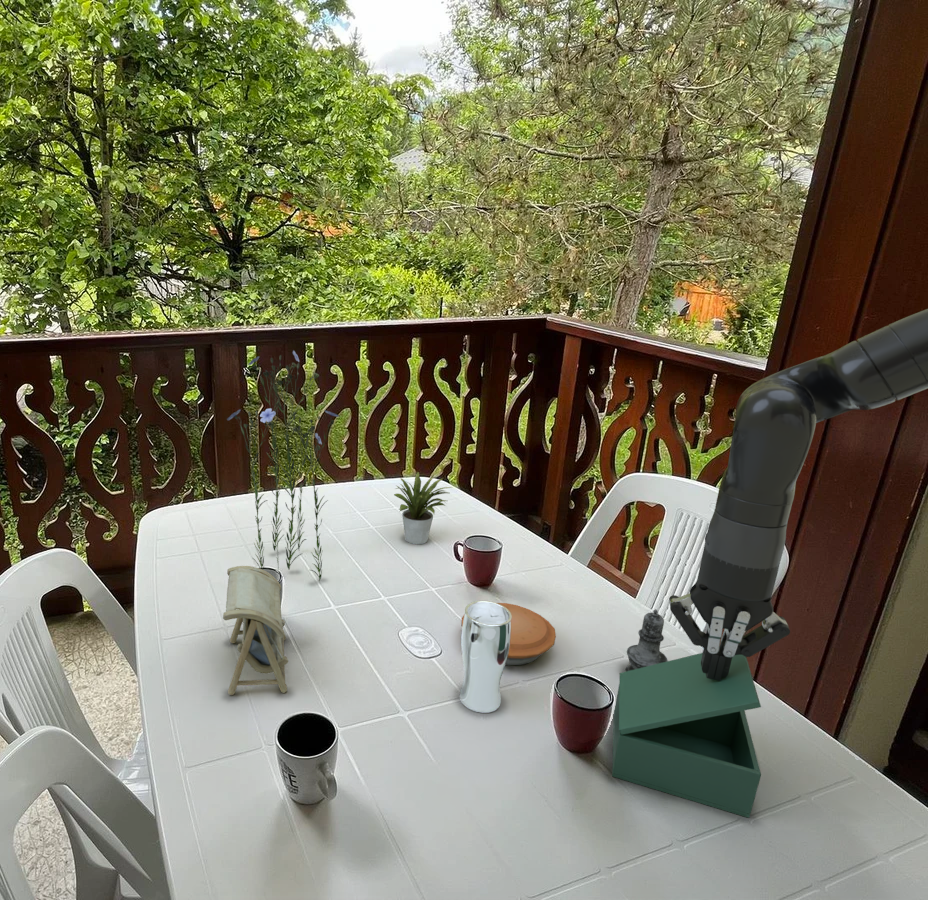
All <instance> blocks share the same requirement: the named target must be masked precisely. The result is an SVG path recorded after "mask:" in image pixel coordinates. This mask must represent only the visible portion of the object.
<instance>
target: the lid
mask: <svg viewBox="0 0 928 900" xmlns="http://www.w3.org/2000/svg"><path fill="white" fill-rule="evenodd" d="M702 654H703V652H700V653H696V654H691V655H688V656H684V657H679V658H676V659H672V660H668V661H667V662H663V663H659V664H655V665H651V666H647V667H643V668H639V669H635V670H630V671H622V672H619V683H618V688H619V731H620V732H621V734H622V735H623V734H628V733H633V732H638V731H643V730H648V729H653V728H658V727H663V726H668V725H673V724H678V723H684V722H689V721H694V720H699V719H704V718H709V717H714V716H719V715H724V714H729V713H734V712H739V711H744V710H745V711H750V710H753V709H760V708H761V707H762V705H761V702H760V699H759V695H758V691H757V688H756V685H755V682H754V678H753V675H752V670H751V667H750V664H749V661H748V657H745V656H743V655H735V656H733V658H732V661H731V665H730V669H729V673H728V676H727V677H726V678H724V677H721V681H717V680H713V679H709V678H706V673H703V671H702V667H701V659H702Z"/></svg>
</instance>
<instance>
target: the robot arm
mask: <svg viewBox="0 0 928 900" xmlns="http://www.w3.org/2000/svg"><path fill="white" fill-rule="evenodd" d="M927 389H928V308H926V309H923V310H920V311H918V312H916V313H913V314H910V315H908V316H906V317H903V318H901V319H899V320H896V321H893V322H892V323H889V324H887V325H885V326H883V327H881V328H878V329H875V330H874V331H872V332H870V333H868V334H865V335H863V336H861V337H859V338H857V339H856V340H853V341H851V342H849V343H847V344H845V345H843V346H841V347H840V348H838V349H836V350H834V351H832V352H830V353H827V354H825V355H822V356H819V357H815V358H812V359H810V360H807V361H804V362H801V363H799V364H796V365H792V366H790V367H787V368H785V369H781V370H780V371H777V372H775V373H772V374H770V375H768V376H766V377H763V378H761V379H759V380H758V381H756V382H754V383H752V384H751V385H750V386H748V387H747V388H746V389H745V390H744V391H742V393H741V394H740V396H739V398H738V400H737V402H736V408H735V417H734V424H733V429H732V436H731V442H730V448H729V454H728V455H729V456H728V461H727V467H725V470H724V472H723V474H722V476H721V480H720V485H719V489H718V493H717V497H716V502H715V507H714V511H713V513H712V516H711V519H710V521H709V524H708V528H707V532H706V533H705V537H704V547H703V551H702V556H701V561H700V565H699V566H700V567H699V569H698V570H699V571H698V575H697V578H696V581H695V583H694V584H693V585H692V586H691V587H690V589H689V593H687V594H684V595H682V596H681V595H680V596H678V595H676V594H675V595H674V594H672V595H671V596H669V598H668V601H669V602H668V603H669V610H670V611H671V613H672V615H673V616H674V618H675V619H676V621H677V622H678V624H679V625H680V626H681V628H682V630H683V631H684V632H685V635H686V636H687V637H688V639H689V641H690V642H691V644H693V646H697V647H699V646H700V647H701V648H703V650H702V653H703V654H702V659H701V667H702V671H703V673H706V678H709V679H713V680H717V681H721V677H724V678H726V677H727V676H728V673H729V669H730V665H731V661H732V658H733V656H735V655H743V656H745V657H746V658H750V657H752V656H755V655H756V654H758V653H759V652H761V651H762V650H764V649H766V648H769V647H770V646H772V645H774V644H775V643H777V642H778V641H780V640H782V639H784V638H785V637H787V636H789V635H790V633H791V630H790V627H789V624H788V622H787V620H786V618H785V617H783V616H780V615H778V614H777V613H776V612H774V605H773V604H772V596H773V592H774V589H775V584H776V580H777V577H778V573H779V569H780V566H781V561H782V557H783V553H784V550H785V546H786V540H787V527H788V521H789V518H790V513H791V510H792V505H793V502H794V499H795V493H796V485H797V480H798V478H799V475H800V474H801V471H802V468H803V466H804V464H805V461H806V458H807V457H808V453H809V450H810V448H811V444H812V442H813V438H814V435H815V430H816V425H817V424H818V423H820V422H824V421H826V420H829V419H831V418H834V417H837V416H839V415H843V414H844V413H847V412H850V411H855V410H856V411H857V410H859V411H870V410H874V409H877V408H881V407H884V406H887V405H890V404H893V403H895V402H896V401H900V400H902V399H904V398H907V397H910V396H912V395H914V394H917V393H920V392H922V391H925V390H927ZM692 605H694V607H695V608H696V610H697V612H698V614H699V615H700V617H701V618H702V620H703V622H705V623H706V626H705V627H706V628H705V632H704V631H702V630H701V628H700V627H699V625H698V623H697V622H696V620H695V619H694V618H693V616H692V615H691V614H693V608H692ZM760 623H761V625H760V626H758V624H760ZM756 626H758V627H756ZM754 627H756V628H754ZM753 628H754V629H753ZM751 629H753V630H751ZM723 630H724V631H723ZM749 630H751V631H749ZM747 631H749V632H748V633H746V634H745V632H747Z"/></svg>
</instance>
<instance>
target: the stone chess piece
mask: <svg viewBox="0 0 928 900" xmlns="http://www.w3.org/2000/svg"><path fill="white" fill-rule="evenodd" d="M641 626H642V627H641V629H639V630H638V631H637V634H638V636H639V638H638V643H637V644H633V645H631V646H629V647H628V648H626V655H627V658H628V662H629V664H628V665H627V666H626V667H625V670H624V672H626V671H630V670H635V669H639V668H643V667H647V666H651V665H655V664H659V663H663V662H667V661H669V660H668V657H667V656H666V655H665V654H664V652H662V651H661V650H660V649H661V648H660V647H661V642H663V641H664V639H665V637H664V635H663V630H664V626H665V619H664V617H663V616H662V615H661V614H659V612H658V609H656V608H655V609H653V610H652V612H647V613H646V614H645V615H643V620H642V625H641Z"/></svg>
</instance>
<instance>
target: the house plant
mask: <svg viewBox="0 0 928 900" xmlns="http://www.w3.org/2000/svg"><path fill="white" fill-rule="evenodd" d="M434 476H435V475H434V474H432V476H431V477H429V479H428V480H427V481H426V482H425V484H424V485H423V486H422V480H421V478H420V473H419V471H417V472H416V474H415V477H414V482H413V485H412V484H411V483H410V482H409V481H406V480H405V479H404V478H402V477H400V481H401V482H402V484H401V483H399V484H400V485H401V487H400V485H399V486H398V485H396V488H395V490H397V489H399V490H400V491H401V492H402V493H403V494H402V493H394V494H393V496H394V497H396V498H398V499H400V500H401V501H403V502H404V503H405V504H403V503H402V504H400V506H399V509H398V510H399V511H398V512H401V511H402V514H401V516H402V524H403V531H404V541H406V542H407V543H409V544H413V545H423V544H425V543H427V542H428V541H429V540H428V539H429V535H430V532H431V527H432V523H433V518H434V515H435V512H436V510H435V509H434V507H438V506H439V507H440V506H444V507H446V505H445V504H444V503H446V502H447V500H446V499H445V500H444V499H442V498H438V497H437V498H433V497H436V496H439V495H444V494H449V491H445V490H444V489H450V488H451V489H452V488H453V486H452V487H451V486H450V487H449V486H446V487H444V486H443V487H440V488H437V489H435V488H436V487H437V486H438V484H439V483H440V482H441V481H442V480H443V479H444V477H443V478H438V479H437V480H435V481H434V482H433V483H432V484H430V483H431V481H432V480H433V478H434ZM429 485H430V486H429ZM421 487H422V488H421ZM443 502H444V503H443ZM446 504H447V503H446Z"/></svg>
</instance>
